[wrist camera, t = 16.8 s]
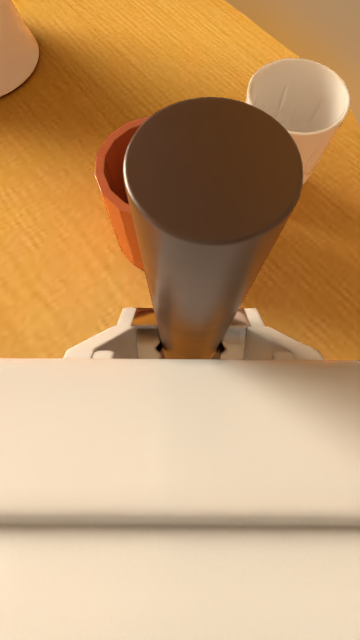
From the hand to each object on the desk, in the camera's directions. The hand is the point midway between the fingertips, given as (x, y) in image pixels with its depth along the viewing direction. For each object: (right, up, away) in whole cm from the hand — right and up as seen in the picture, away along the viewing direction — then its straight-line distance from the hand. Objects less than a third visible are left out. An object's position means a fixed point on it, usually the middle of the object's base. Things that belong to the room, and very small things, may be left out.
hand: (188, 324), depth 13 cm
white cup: (+9, +14, +21) cm, 27 cm away
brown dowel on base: (0, -4, +11) cm, 12 cm away
